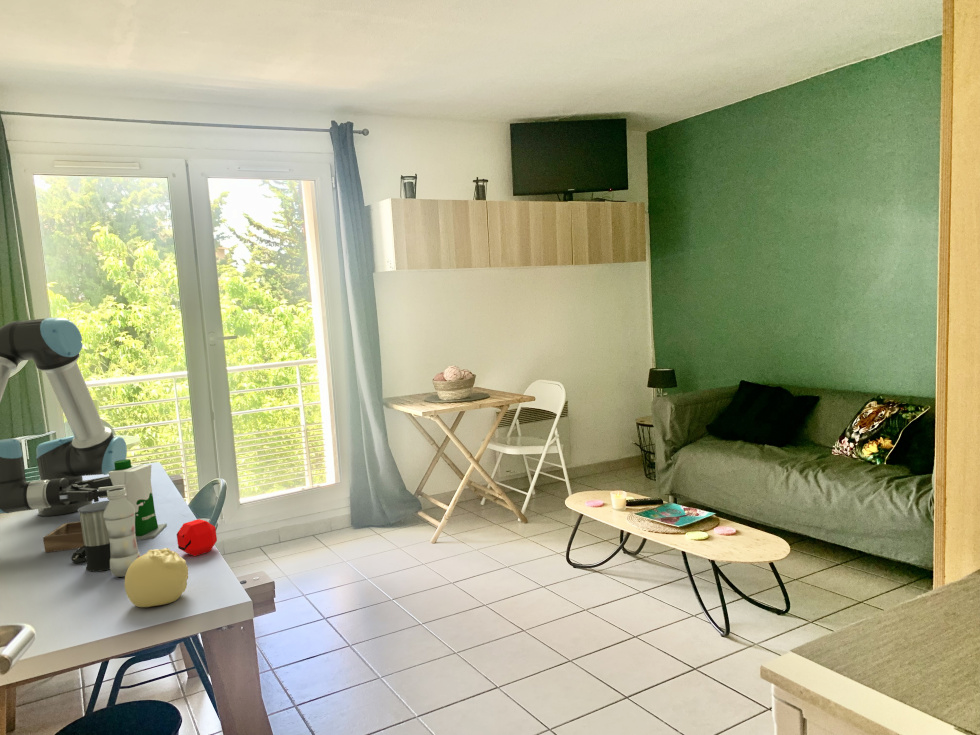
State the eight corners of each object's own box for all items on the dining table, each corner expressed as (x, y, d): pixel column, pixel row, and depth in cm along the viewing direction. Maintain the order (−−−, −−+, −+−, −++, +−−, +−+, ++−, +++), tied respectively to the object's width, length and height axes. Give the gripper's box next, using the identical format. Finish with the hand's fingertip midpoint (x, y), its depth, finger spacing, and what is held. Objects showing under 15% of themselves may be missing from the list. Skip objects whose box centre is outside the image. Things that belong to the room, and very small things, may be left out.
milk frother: (117, 570, 172) (108, 509, 170) (49, 577, 172) (40, 515, 170) (144, 550, 186) (136, 493, 185) (82, 556, 186) (73, 498, 184)
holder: (66, 537, 204) (64, 523, 204) (115, 531, 206) (113, 517, 206) (45, 552, 191) (43, 537, 191) (97, 545, 193) (95, 531, 193)
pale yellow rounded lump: (197, 600, 149) (191, 548, 148) (133, 619, 142) (125, 565, 141) (184, 585, 158) (178, 536, 157) (123, 602, 151) (116, 551, 150)
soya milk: (135, 527, 206) (125, 457, 204) (163, 526, 204) (154, 456, 202) (113, 538, 197) (103, 465, 195) (143, 537, 195) (133, 463, 193)
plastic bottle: (120, 570, 171) (108, 487, 170) (148, 568, 171) (137, 484, 169) (105, 581, 165) (93, 494, 163) (134, 579, 165) (122, 492, 163)
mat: (125, 530, 205) (125, 528, 205) (166, 525, 207) (166, 523, 207) (111, 543, 194) (110, 541, 194) (154, 537, 196) (154, 535, 196)
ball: (175, 555, 180) (171, 524, 179) (206, 544, 186) (202, 515, 185) (191, 560, 174) (187, 529, 174) (222, 549, 180) (218, 519, 180)
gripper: (72, 495, 209) (150, 486, 212) (30, 520, 184) (120, 509, 187) (68, 469, 208) (146, 460, 211) (26, 491, 184) (116, 480, 187)
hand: (134, 483), depth 199 cm, fingers open, 13 cm apart
